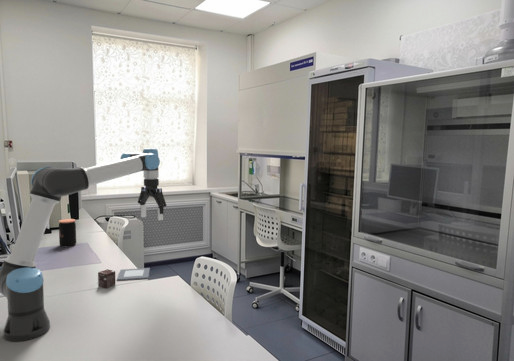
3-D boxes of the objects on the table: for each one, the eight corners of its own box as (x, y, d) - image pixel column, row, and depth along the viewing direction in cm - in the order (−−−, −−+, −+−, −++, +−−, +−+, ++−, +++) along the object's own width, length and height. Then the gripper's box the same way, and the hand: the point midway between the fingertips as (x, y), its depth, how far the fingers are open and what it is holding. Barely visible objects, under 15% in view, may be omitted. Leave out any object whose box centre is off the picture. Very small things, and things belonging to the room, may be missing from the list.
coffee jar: (60, 244, 269) (59, 219, 267) (76, 242, 273) (75, 218, 271) (59, 247, 259) (58, 222, 257) (76, 246, 263) (75, 221, 262)
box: (97, 286, 189) (97, 272, 189) (107, 282, 195) (107, 269, 194) (106, 288, 187) (105, 274, 186) (115, 284, 192) (115, 270, 191)
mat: (148, 278, 201) (148, 277, 201) (116, 280, 197) (116, 279, 197) (149, 269, 217) (149, 267, 217) (120, 270, 213) (120, 269, 213)
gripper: (173, 179, 191) (173, 220, 193) (142, 176, 205) (142, 214, 207) (161, 180, 185) (162, 222, 187) (130, 177, 199) (131, 216, 201)
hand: (152, 218), depth 197 cm, fingers open, 13 cm apart
